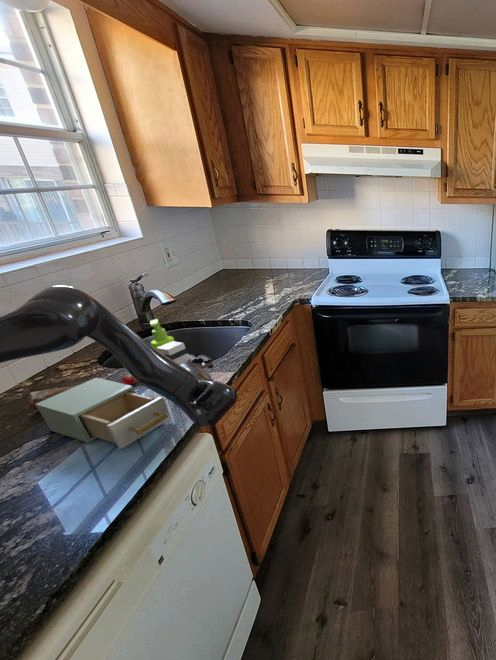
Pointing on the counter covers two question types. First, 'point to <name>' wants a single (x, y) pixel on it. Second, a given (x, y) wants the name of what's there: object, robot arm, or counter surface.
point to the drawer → (125, 418)
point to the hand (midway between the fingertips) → (175, 361)
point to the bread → (44, 395)
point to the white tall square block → (175, 352)
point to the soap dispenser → (159, 335)
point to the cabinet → (79, 406)
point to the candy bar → (129, 380)
